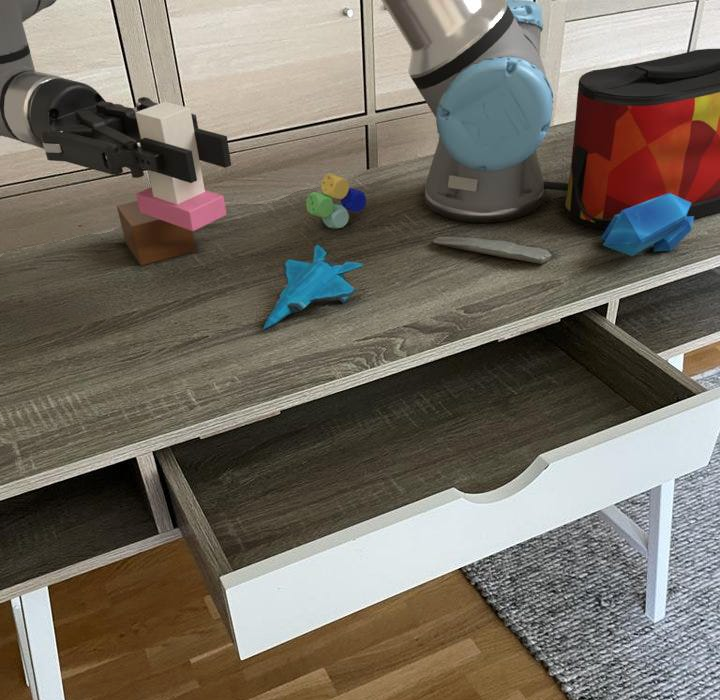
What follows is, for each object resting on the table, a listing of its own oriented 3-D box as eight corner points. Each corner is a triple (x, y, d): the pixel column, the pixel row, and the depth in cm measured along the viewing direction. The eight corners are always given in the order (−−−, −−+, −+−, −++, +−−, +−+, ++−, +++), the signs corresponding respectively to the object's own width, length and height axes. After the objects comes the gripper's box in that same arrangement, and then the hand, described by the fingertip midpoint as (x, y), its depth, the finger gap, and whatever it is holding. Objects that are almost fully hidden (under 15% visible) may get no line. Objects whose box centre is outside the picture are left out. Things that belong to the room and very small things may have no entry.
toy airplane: (291, 277, 99) (286, 243, 96) (374, 280, 97) (371, 245, 95) (263, 331, 91) (256, 295, 88) (353, 334, 89) (350, 298, 86)
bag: (719, 159, 118) (748, 27, 108) (796, 193, 109) (836, 52, 98) (532, 204, 110) (543, 66, 99) (597, 246, 100) (617, 98, 90)
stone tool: (558, 245, 99) (544, 256, 96) (557, 257, 100) (542, 268, 96) (446, 228, 105) (428, 238, 101) (445, 240, 106) (427, 250, 102)
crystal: (719, 244, 96) (624, 289, 95) (673, 229, 103) (585, 271, 103) (709, 179, 92) (610, 226, 91) (662, 169, 99) (571, 212, 99)
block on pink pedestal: (227, 215, 85) (210, 110, 79) (192, 231, 83) (172, 124, 76) (174, 197, 89) (153, 96, 83) (140, 212, 87) (116, 109, 80)
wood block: (179, 230, 111) (171, 192, 107) (196, 251, 106) (188, 212, 102) (126, 243, 108) (116, 205, 105) (141, 265, 104) (131, 226, 100)
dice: (356, 211, 112) (353, 162, 108) (369, 217, 110) (366, 167, 106) (306, 230, 109) (300, 179, 104) (318, 236, 107) (313, 186, 103)
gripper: (129, 128, 98) (277, 170, 86) (1, 177, 89) (146, 231, 77) (113, 57, 93) (267, 91, 81) (-24, 101, 84) (127, 146, 72)
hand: (208, 159), depth 79 cm, fingers closed on block on pink pedestal, 4 cm apart
